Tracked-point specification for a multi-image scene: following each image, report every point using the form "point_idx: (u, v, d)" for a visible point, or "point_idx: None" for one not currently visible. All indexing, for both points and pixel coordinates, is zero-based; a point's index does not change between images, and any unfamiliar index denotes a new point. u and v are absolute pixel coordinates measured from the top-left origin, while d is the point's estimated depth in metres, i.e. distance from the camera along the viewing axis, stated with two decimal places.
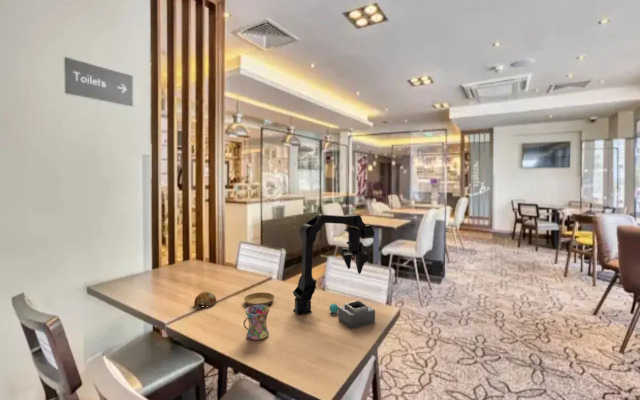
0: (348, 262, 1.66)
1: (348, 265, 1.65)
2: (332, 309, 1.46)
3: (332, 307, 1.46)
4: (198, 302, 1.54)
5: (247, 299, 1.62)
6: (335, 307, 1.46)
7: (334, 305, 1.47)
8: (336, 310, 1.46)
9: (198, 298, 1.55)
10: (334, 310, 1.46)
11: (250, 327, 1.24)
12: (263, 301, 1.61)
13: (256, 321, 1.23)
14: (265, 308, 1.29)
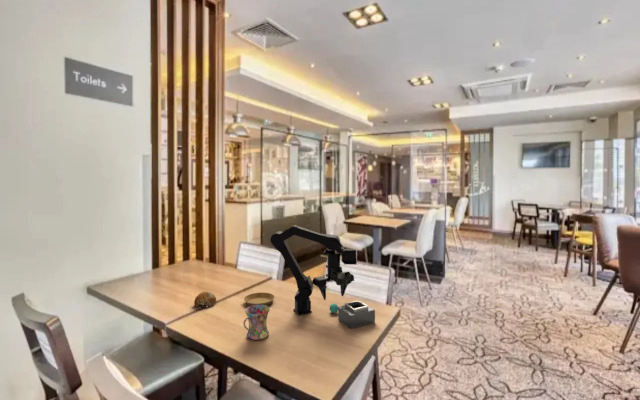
0: (342, 289, 1.50)
1: (341, 292, 1.50)
2: (332, 309, 1.46)
3: (332, 307, 1.46)
4: (198, 302, 1.54)
5: (247, 299, 1.62)
6: (335, 307, 1.46)
7: (334, 305, 1.47)
8: (336, 310, 1.46)
9: (198, 298, 1.55)
10: (334, 310, 1.46)
11: (250, 327, 1.24)
12: (263, 301, 1.61)
13: (256, 321, 1.23)
14: (265, 308, 1.29)
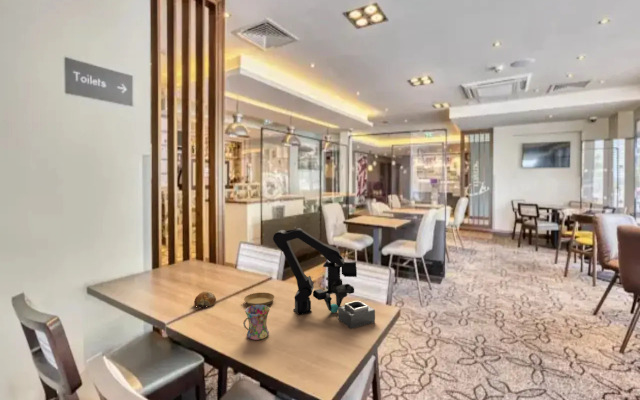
0: (338, 302, 1.49)
1: (337, 304, 1.49)
2: (332, 309, 1.46)
3: (332, 307, 1.46)
4: (198, 302, 1.54)
5: (247, 299, 1.62)
6: (335, 307, 1.46)
7: (334, 305, 1.47)
8: (336, 310, 1.46)
9: (198, 298, 1.55)
10: (334, 310, 1.46)
11: (250, 327, 1.24)
12: (263, 301, 1.61)
13: (256, 321, 1.23)
14: (265, 308, 1.29)
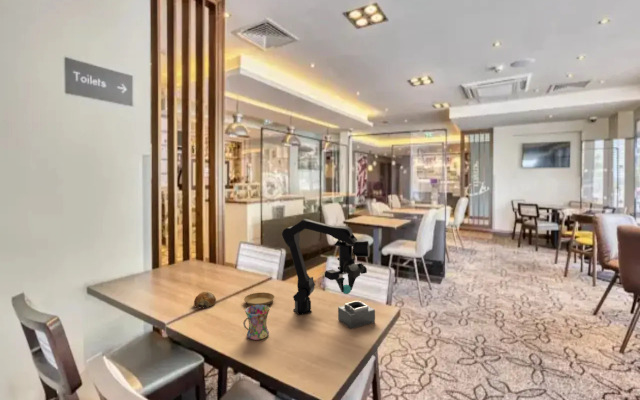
0: (350, 282, 1.44)
1: (349, 285, 1.44)
2: (345, 290, 1.41)
3: (344, 288, 1.41)
4: (198, 302, 1.53)
5: (247, 299, 1.62)
6: (348, 288, 1.41)
7: (346, 286, 1.42)
8: (349, 291, 1.41)
9: (198, 298, 1.55)
10: (347, 291, 1.41)
11: (250, 327, 1.24)
12: (263, 301, 1.61)
13: (256, 321, 1.23)
14: (265, 308, 1.29)
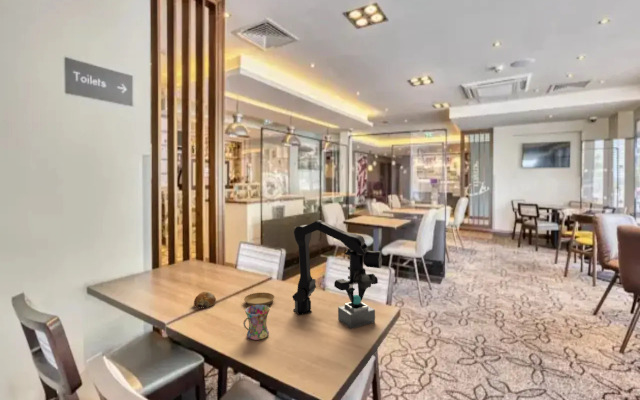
0: (360, 293, 1.40)
1: None
2: (355, 300, 1.37)
3: (354, 299, 1.37)
4: (197, 302, 1.53)
5: (247, 299, 1.62)
6: (358, 298, 1.37)
7: (357, 296, 1.38)
8: (359, 302, 1.37)
9: (197, 298, 1.55)
10: (357, 302, 1.37)
11: (250, 327, 1.24)
12: (263, 301, 1.61)
13: (256, 321, 1.23)
14: (265, 308, 1.29)
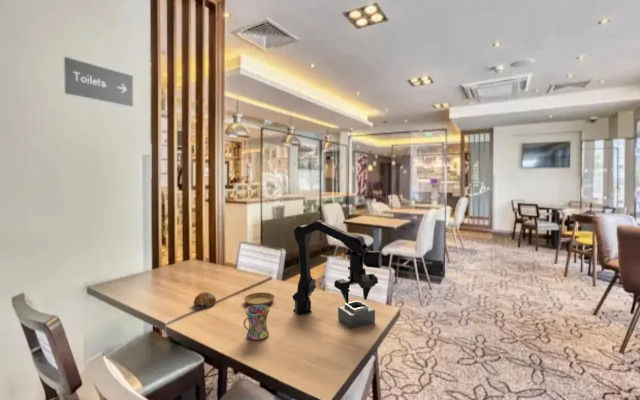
0: (365, 292, 1.41)
1: (364, 295, 1.41)
2: None
3: None
4: (197, 302, 1.53)
5: (247, 299, 1.62)
6: None
7: None
8: None
9: (197, 298, 1.55)
10: None
11: (250, 327, 1.24)
12: (263, 301, 1.61)
13: (256, 321, 1.23)
14: (265, 308, 1.29)
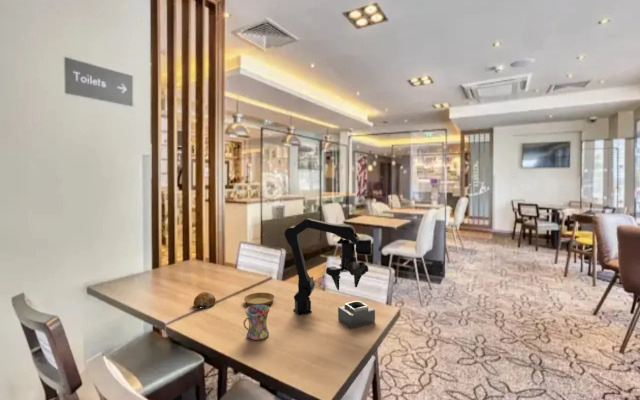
0: (356, 280, 1.46)
1: (355, 282, 1.47)
2: None
3: None
4: (197, 303, 1.53)
5: (247, 299, 1.62)
6: None
7: None
8: None
9: (197, 299, 1.54)
10: None
11: (250, 327, 1.24)
12: (263, 301, 1.61)
13: (256, 321, 1.23)
14: (265, 308, 1.29)
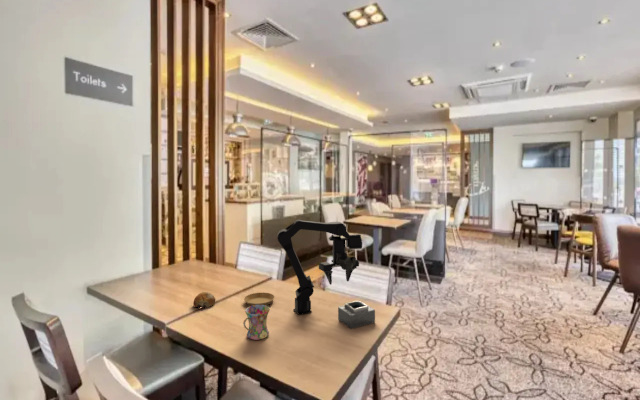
0: (347, 274, 1.53)
1: (346, 277, 1.53)
2: None
3: None
4: (197, 303, 1.53)
5: (247, 299, 1.62)
6: None
7: None
8: None
9: (197, 299, 1.54)
10: None
11: (250, 327, 1.24)
12: (263, 301, 1.61)
13: (256, 321, 1.23)
14: (265, 308, 1.29)
